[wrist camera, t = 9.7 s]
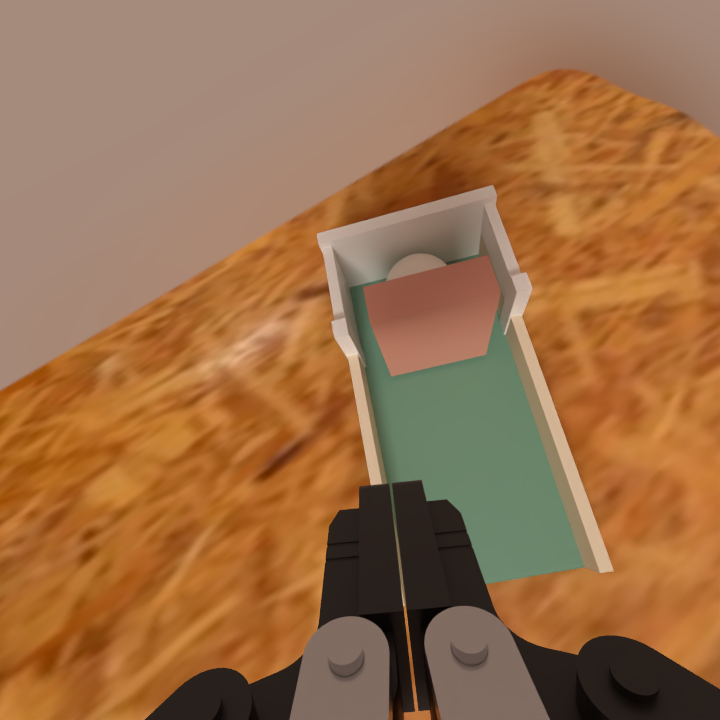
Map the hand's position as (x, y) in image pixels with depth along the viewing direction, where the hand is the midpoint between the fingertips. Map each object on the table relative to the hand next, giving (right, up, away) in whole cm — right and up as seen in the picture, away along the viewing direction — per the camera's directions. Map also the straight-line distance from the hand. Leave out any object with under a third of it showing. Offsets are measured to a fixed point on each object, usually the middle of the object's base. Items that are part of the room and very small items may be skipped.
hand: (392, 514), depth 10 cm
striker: (+4, +4, +17) cm, 18 cm away
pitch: (+5, +1, +17) cm, 17 cm away
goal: (+4, +7, +19) cm, 21 cm away
